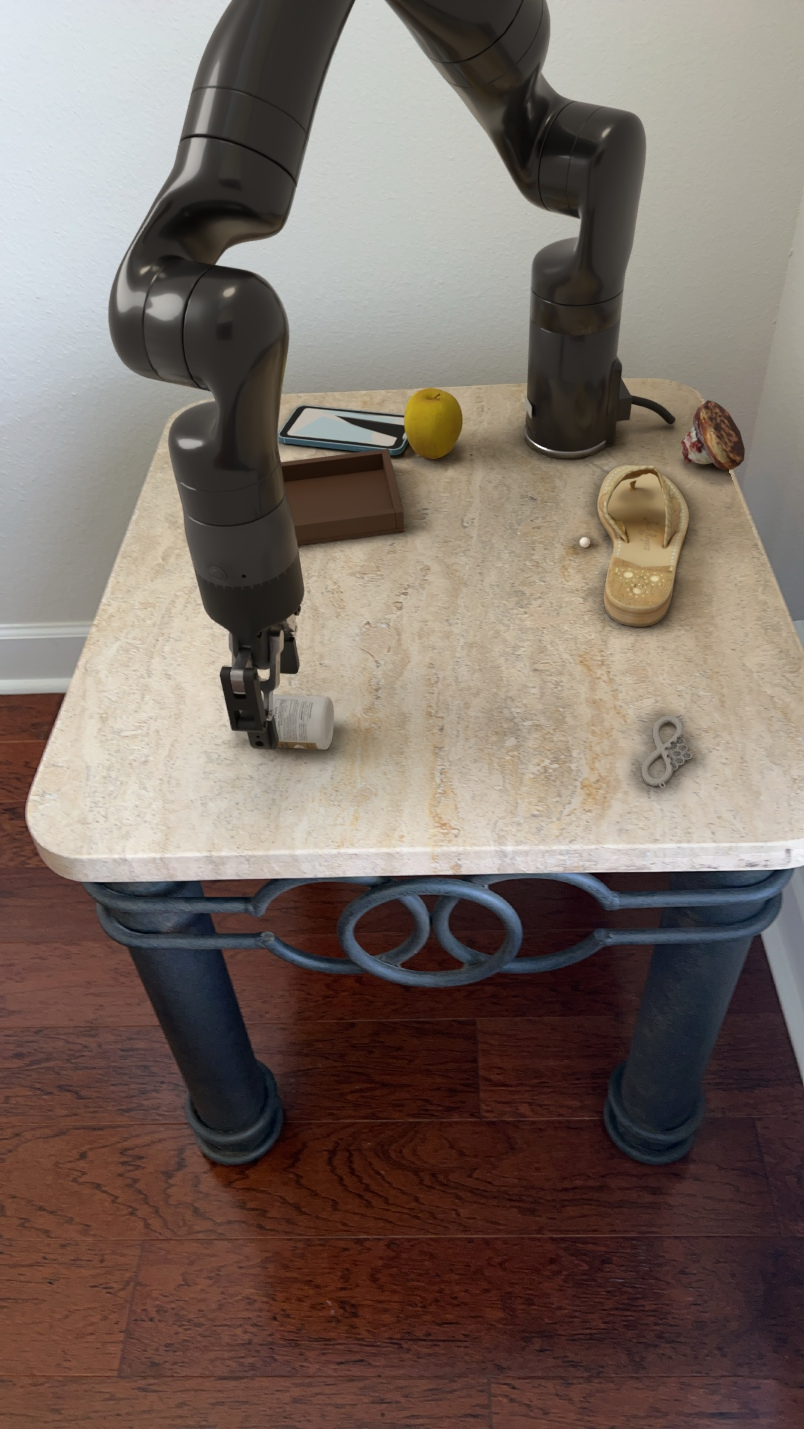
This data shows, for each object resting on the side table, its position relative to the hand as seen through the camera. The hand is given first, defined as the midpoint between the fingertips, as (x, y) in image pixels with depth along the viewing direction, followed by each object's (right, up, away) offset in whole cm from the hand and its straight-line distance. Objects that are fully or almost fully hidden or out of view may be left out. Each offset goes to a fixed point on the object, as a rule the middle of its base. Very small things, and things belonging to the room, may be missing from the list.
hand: (276, 707), depth 85 cm
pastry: (+44, +29, +23) cm, 58 cm away
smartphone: (+4, +31, +34) cm, 46 cm away
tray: (+1, +21, +24) cm, 32 cm away
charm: (+30, -3, 0) cm, 30 cm away
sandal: (+34, +16, +18) cm, 41 cm away
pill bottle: (+5, -1, +1) cm, 5 cm away
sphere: (+29, +14, +15) cm, 35 cm away
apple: (+14, +28, +30) cm, 44 cm away
